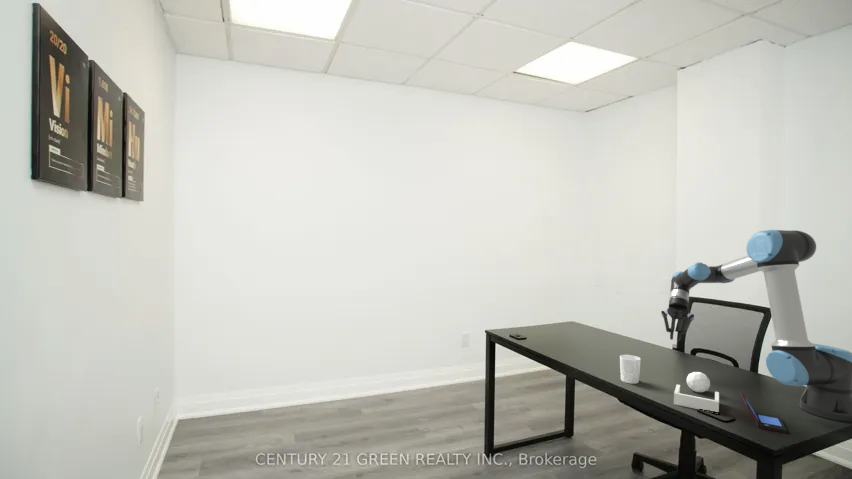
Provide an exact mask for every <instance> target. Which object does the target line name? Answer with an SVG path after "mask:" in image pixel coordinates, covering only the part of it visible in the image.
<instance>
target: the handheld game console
mask: <svg viewBox="0 0 852 479" xmlns="http://www.w3.org/2000/svg"><path fill="white" fill-rule="evenodd" d="M740 394H741V396H742V399H743V401H744V404H745V406H746V407H747V409H748V410H749V412H750V413H751V416H752V417H753V418H754V420H755V424H756V426H757V428H759V429H763V430H769V431H773V432H778V433H783V434H786V433H787V432H788V429H787V427H786V425H785V424H784V422H783V420H782V419H781V417H780V416H777V415H773V414H769V413H762V412H758V411H757V412H756V410H755V409H753V407H752V405H751V404H750V402H749V401H748V399H747V397H746V396H745V394H744V393H743V392H741V393H740Z"/></svg>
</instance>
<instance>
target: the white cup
mask: <svg viewBox="0 0 852 479" xmlns="http://www.w3.org/2000/svg"><path fill="white" fill-rule="evenodd" d="M641 362H642V361H641V357H639V356H636V355H633V354H632V355H631V354H620V355H619V369H620V371H619V372H620V380H621V382H623V383H627V384H630V385H631V384H632V385H633V384H634V385H635V384H638V383H639V381H640V373H641Z"/></svg>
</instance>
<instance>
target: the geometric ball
mask: <svg viewBox="0 0 852 479" xmlns="http://www.w3.org/2000/svg"><path fill="white" fill-rule="evenodd" d="M686 384H687V386H688V387H689V388H690V390H692V391H693V392H695V393H704V392H707V391H708V390H709V388H710V387H711V381H710V378H709V377H708V376H707V375H706V374H705V373H703V372H701V371H692V372H690V373H688V375H687V377H686Z"/></svg>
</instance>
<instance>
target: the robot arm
mask: <svg viewBox="0 0 852 479" xmlns="http://www.w3.org/2000/svg"><path fill="white" fill-rule="evenodd" d="M816 250H817V243H816V241H815V239H814V238H813V236H811V235H810V234H808V233H807V232H804V231H803V230H802V231H801V230H786V229H785V230H783V229H782V230H781V229H768V230H760V231H757V232H755V233H754V234H752V235H751V237H750V238H749V239H748V241H747V244H746V254H747V255H745V256H742V257H739V258H736V259H733V260H731V261H728V262H725V263H723V264H720V265H717V266H709V265H707V264H706V263H703V262H695V263H694V264H691V265H690V266H689V267H688V268H686V269H685V270H684V271H676V272H674V273H673V274H672V278H671V280H670V281H671V284H670V293H669V301H668V308H666V310H661V313H660V314H661V316H662V318H663V320H664V325H665V331H666V332H667V333H669V338H670V340H672V343H671V344H672V348H673V349H677V348H678V341H679V342H680V341H681V338H682V335H687V332H688V330H689V328H690V325H691V323H692V321H694V320H695V314H693V313H690V311H689V302H690V301H689V300H690V291H691V289H693V288H694V287H695V286H697V285H698V284H727V283H733V282H734V281H735V280H736V279H738V278H742V277H745V276H748V275H752V274H755V273H758V272H762V273H763V275H764V281H765V287H766V291H767V292H766V293H767V298H768V299H767V300H768V304H769V309H770V313H771V319H772V320H771V321H772V326H773V331H774V337H775V340H774V341H773V342H772V343H771V344H770V345H771V351H770V352H768V354H767V356H766V357H765V366H766V369H767V371H768V372H769V374H770V375H771V377H773V378H774V379H775V380H776V381H778V382H779V383H781V384H782V385H785V386H794V387H795V386H796V387H804V386H805V389H804V391H803V393H802V395H801V397H800V399H799V408H800V409H802V410H804V411H805V412H807V413H808V414H809V413H810V414H812V415H815V416H818V417H821V418H824V419H829V420H833V421H839V422H847V423H848V422H850V423H852V351H849V350H847V349H843V348H838V347H835V346H830V345H824V344H820V343H819V344H818V343H812V342H811V341H810V340H809V339H808V333H807V330H806V329H807V328H806V323H805V318H804V311H803V308H802V302H801V297H800V293H799V292H800V291H799V287H798V286H799V285H798V281H797V276H796V270H797V269H798V268H799V267H800V263H803V262H805V261H808V260H810V259H811V258H812V257H813V256H814V255H815V253H816ZM668 316H669V317H670V318H671V324H670V325H669V321H668ZM685 318H687V319H686V321H685V323H684V326H682V324H683V320H684V319H685ZM676 320H678V322H677V323H678V324H677V331H676V329H675V328H676ZM682 327H683V328H682Z"/></svg>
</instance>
